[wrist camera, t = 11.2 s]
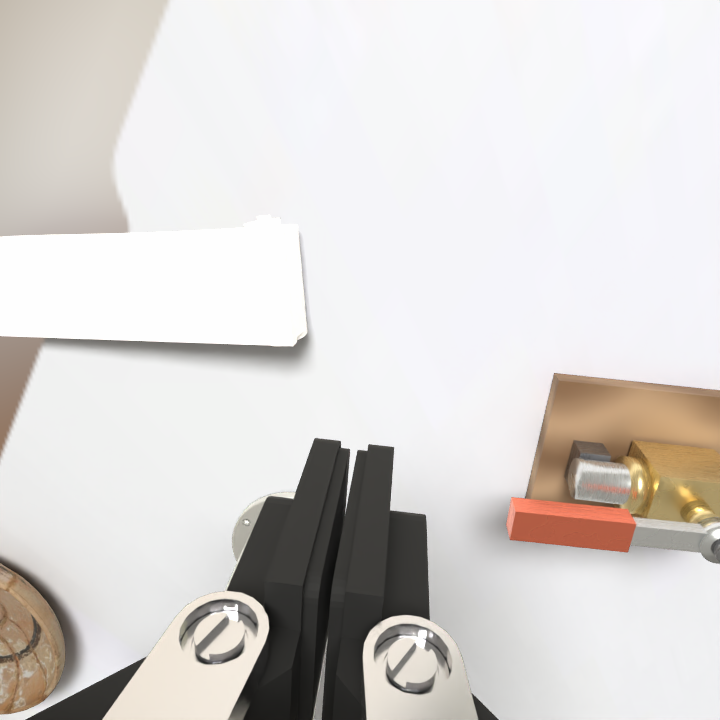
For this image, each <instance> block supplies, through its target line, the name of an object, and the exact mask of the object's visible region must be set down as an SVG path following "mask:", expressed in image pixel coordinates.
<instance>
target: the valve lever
mask: <svg viewBox="0 0 720 720" xmlns="http://www.w3.org/2000/svg"><path fill="white" fill-rule="evenodd" d="M506 526H507V530H508V534H509V538H510V540H517V541H526V542H536V543H545V544H554V545H564V546H573V547H582V548H591V549H601V550H610V551H619V552H628V550H629V547H630V545H634V546H644V547H653V548H663V549H672V550H681V551H691V552H700V553H701V554H702V555H703V557H704V558H705V559H706V560H708V561H710V562H712V563H718V564H720V517H709V518H706V519H703V520H701V521H700V522H698V523H697V524H695V523H686V522H676V521H666V520H657V519H647V518H637V517H632V516H631V514H630V512H629V511H628V509H622V508H612V507H602V506H592V505H583V504H573V503H563V502H553V501H543V500H534V499H524V498H514V497H511V502H510V507H509V512H508V518H507V523H506Z"/></svg>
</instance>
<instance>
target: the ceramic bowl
mask: <svg viewBox="0 0 720 720" xmlns="http://www.w3.org/2000/svg"><path fill="white" fill-rule="evenodd" d="M64 665H65V643H64V636H63V632H62V629H61V627H60V624H59V622H58V619H57V617H56V615H55V614H54V612H53V610H52V609H51V607H50V606H49V604H48V603H47V601H46V600H45V599H44V598H43V597H42V595H41V594H40V593H39V592H38V591H37V590H36V589H35V588H34V587H33V586H32V585H31V584H30V583H29V582H28V581H26V580H25V579H24V578H23V577H21V576H20V575H19V574H17V573H15V572H13V571H12V570H10V569H9V568H7V567H5V566H4V565H2V564H0V714H12V713H16V712H20V711H24V710H27V709H29V708H31V707H34V706H36V705H38V704H39V703H41V702H43V701H44V700H45V699H46V698H47V697H48V696H49V695H50V694H51V693H52V691H53V690H54V689H55V687H56V685H57V684H58V682H59V680H60V678H61V675H62V672H63V669H64Z"/></svg>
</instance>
